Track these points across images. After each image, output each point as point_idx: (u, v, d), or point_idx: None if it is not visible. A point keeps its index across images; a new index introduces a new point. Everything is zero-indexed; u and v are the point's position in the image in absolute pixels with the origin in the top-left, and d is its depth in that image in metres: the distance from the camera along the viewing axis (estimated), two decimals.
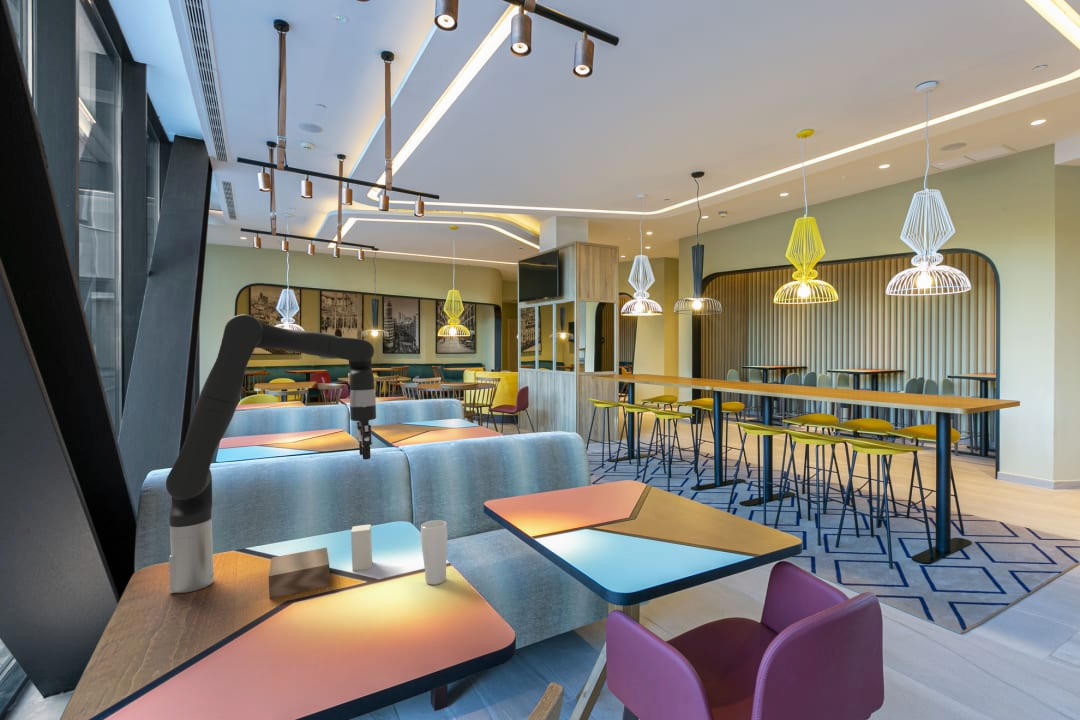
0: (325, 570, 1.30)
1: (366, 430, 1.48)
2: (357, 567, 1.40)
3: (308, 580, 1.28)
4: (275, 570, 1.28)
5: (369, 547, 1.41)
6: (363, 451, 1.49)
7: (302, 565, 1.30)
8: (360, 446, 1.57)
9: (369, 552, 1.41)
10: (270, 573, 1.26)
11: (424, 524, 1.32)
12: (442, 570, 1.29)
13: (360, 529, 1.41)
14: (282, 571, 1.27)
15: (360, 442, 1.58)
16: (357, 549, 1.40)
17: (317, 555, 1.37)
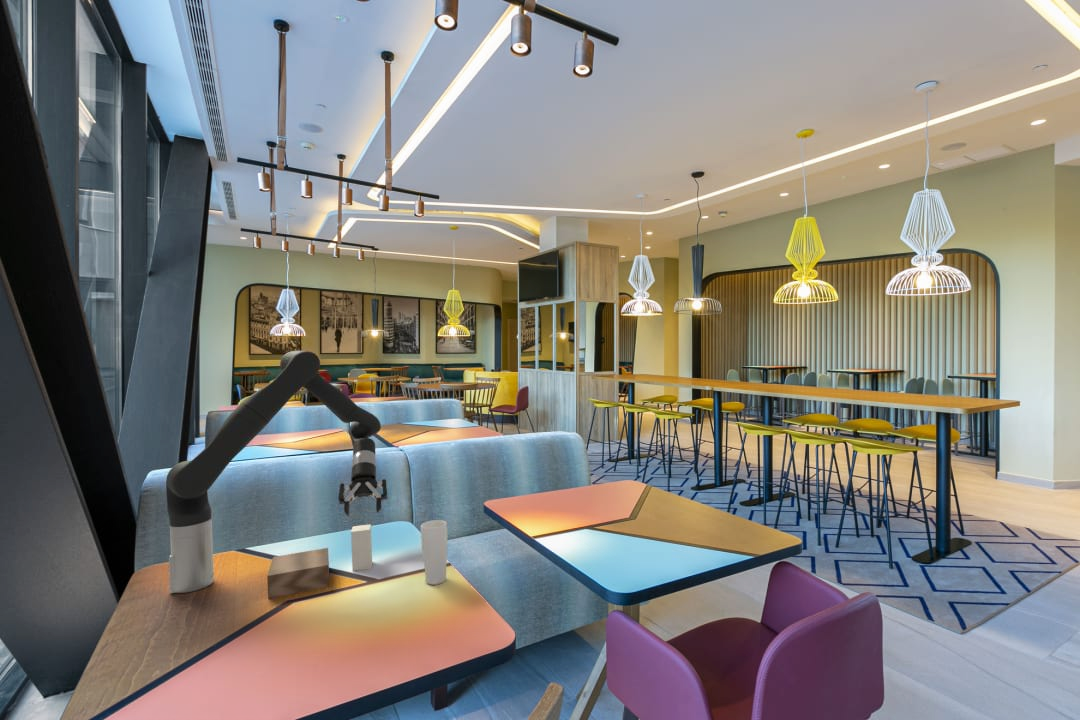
0: (324, 570, 1.30)
1: None
2: (357, 567, 1.40)
3: (307, 580, 1.28)
4: (274, 570, 1.28)
5: (369, 547, 1.41)
6: (379, 502, 1.53)
7: (301, 566, 1.30)
8: (349, 504, 1.51)
9: (369, 552, 1.41)
10: (269, 573, 1.26)
11: (424, 524, 1.32)
12: (442, 570, 1.29)
13: (360, 529, 1.41)
14: (281, 570, 1.27)
15: None
16: (357, 549, 1.40)
17: (318, 555, 1.37)
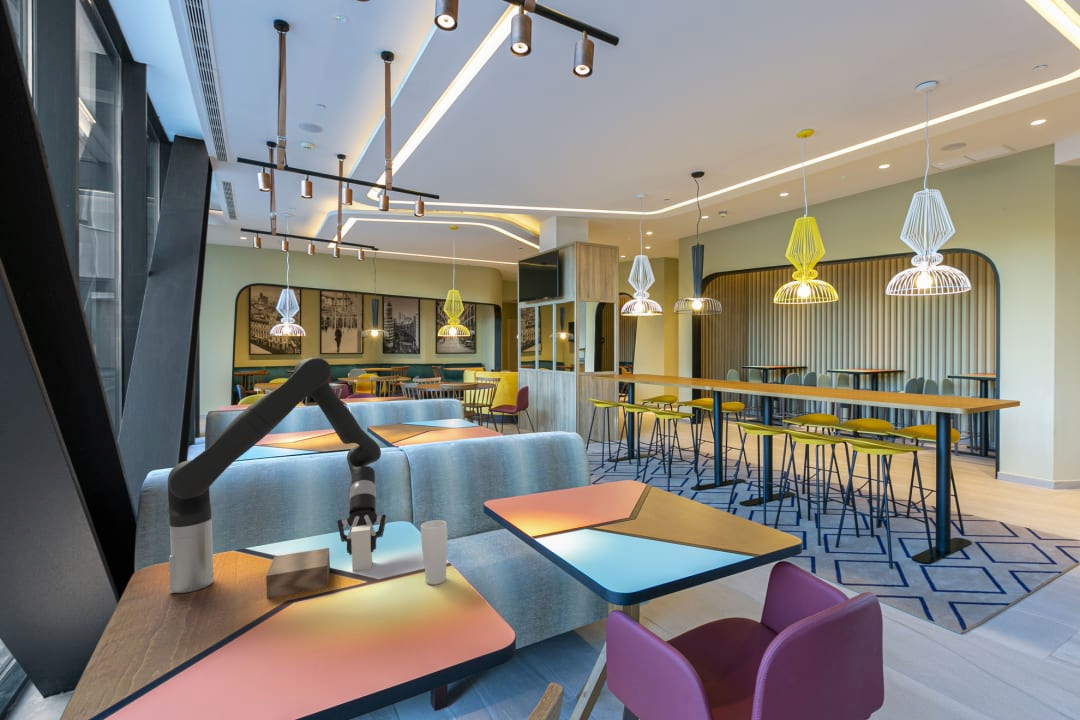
0: (323, 571, 1.29)
1: (385, 521, 1.48)
2: (357, 567, 1.40)
3: (306, 581, 1.28)
4: (273, 570, 1.28)
5: (369, 547, 1.41)
6: (373, 541, 1.43)
7: (300, 566, 1.30)
8: None
9: (369, 552, 1.41)
10: (268, 572, 1.26)
11: (424, 524, 1.32)
12: (442, 570, 1.29)
13: (360, 529, 1.41)
14: (280, 570, 1.27)
15: None
16: (357, 549, 1.40)
17: (318, 555, 1.37)
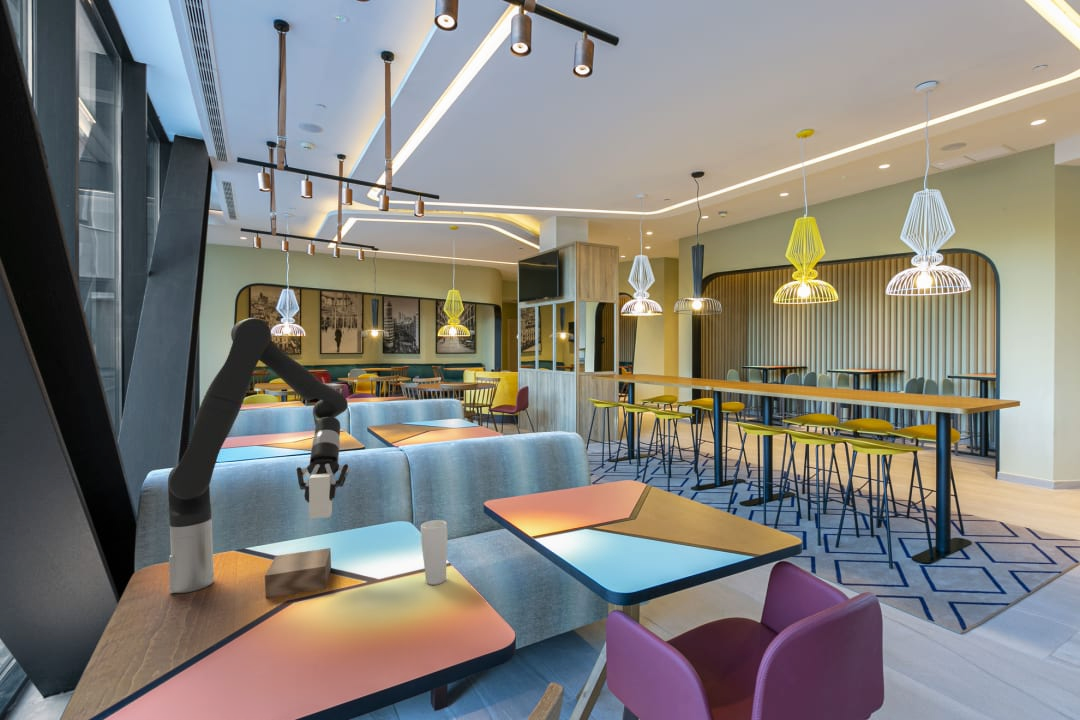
0: (321, 572, 1.29)
1: (347, 471, 1.43)
2: (315, 514, 1.34)
3: (304, 581, 1.28)
4: (273, 569, 1.28)
5: (328, 495, 1.35)
6: (332, 489, 1.37)
7: (299, 566, 1.30)
8: None
9: (328, 500, 1.35)
10: (267, 572, 1.27)
11: (424, 524, 1.32)
12: (442, 570, 1.29)
13: (319, 476, 1.36)
14: (279, 570, 1.28)
15: (308, 486, 1.37)
16: (315, 496, 1.34)
17: (318, 555, 1.37)
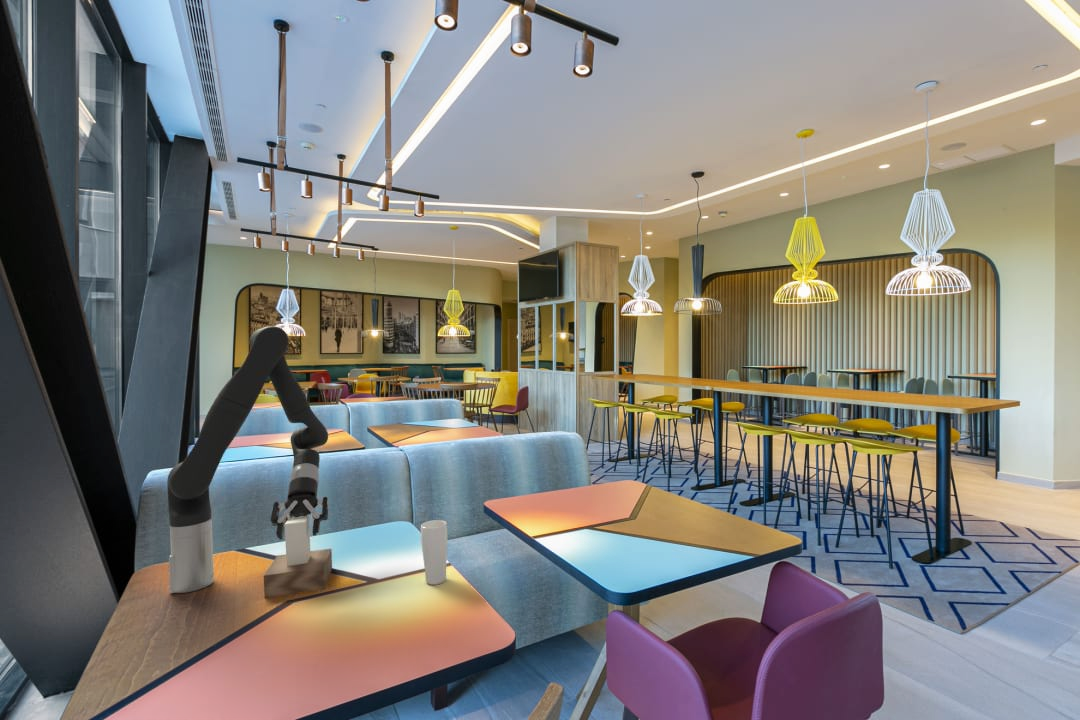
0: (320, 573, 1.28)
1: (327, 503, 1.40)
2: (292, 561, 1.31)
3: (302, 582, 1.27)
4: (272, 569, 1.28)
5: (305, 540, 1.32)
6: (316, 523, 1.35)
7: (298, 566, 1.30)
8: (282, 526, 1.33)
9: (305, 545, 1.32)
10: (266, 572, 1.27)
11: (424, 524, 1.32)
12: (442, 570, 1.29)
13: (295, 521, 1.32)
14: (278, 570, 1.28)
15: None
16: (291, 542, 1.31)
17: (319, 556, 1.37)
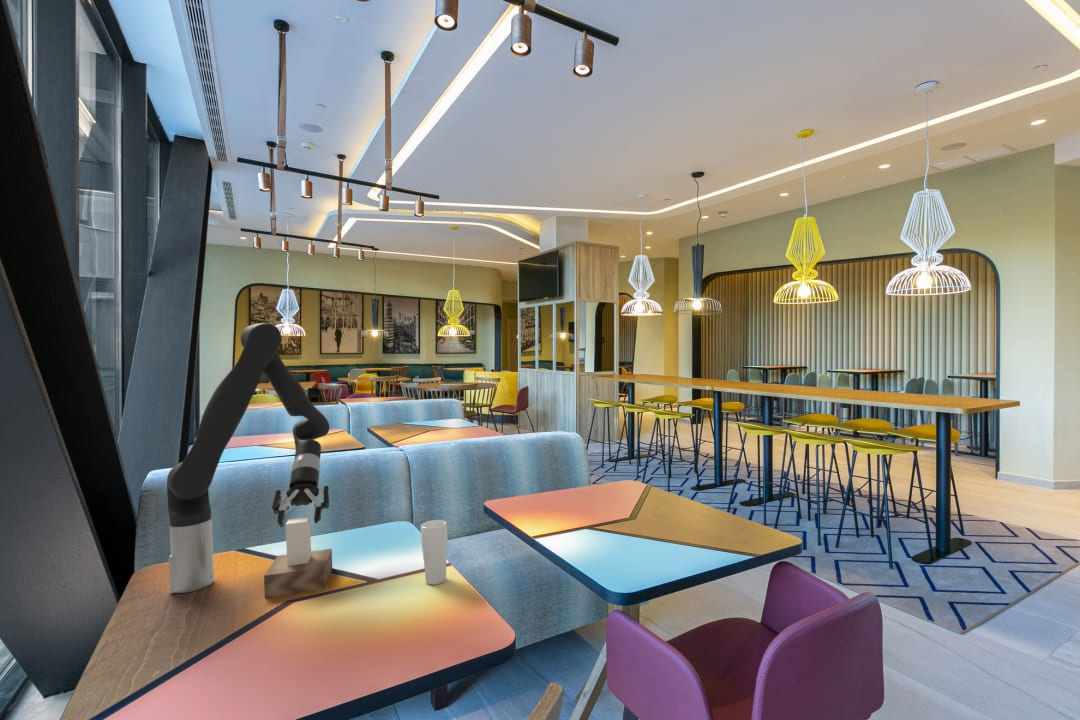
0: (320, 573, 1.28)
1: (328, 492, 1.43)
2: (292, 561, 1.31)
3: (303, 582, 1.27)
4: (272, 569, 1.28)
5: (306, 540, 1.32)
6: (318, 511, 1.37)
7: (299, 566, 1.30)
8: (283, 514, 1.35)
9: (306, 546, 1.32)
10: (267, 572, 1.27)
11: (424, 524, 1.32)
12: (442, 570, 1.29)
13: (296, 521, 1.32)
14: (278, 571, 1.28)
15: None
16: (292, 542, 1.31)
17: (319, 556, 1.37)
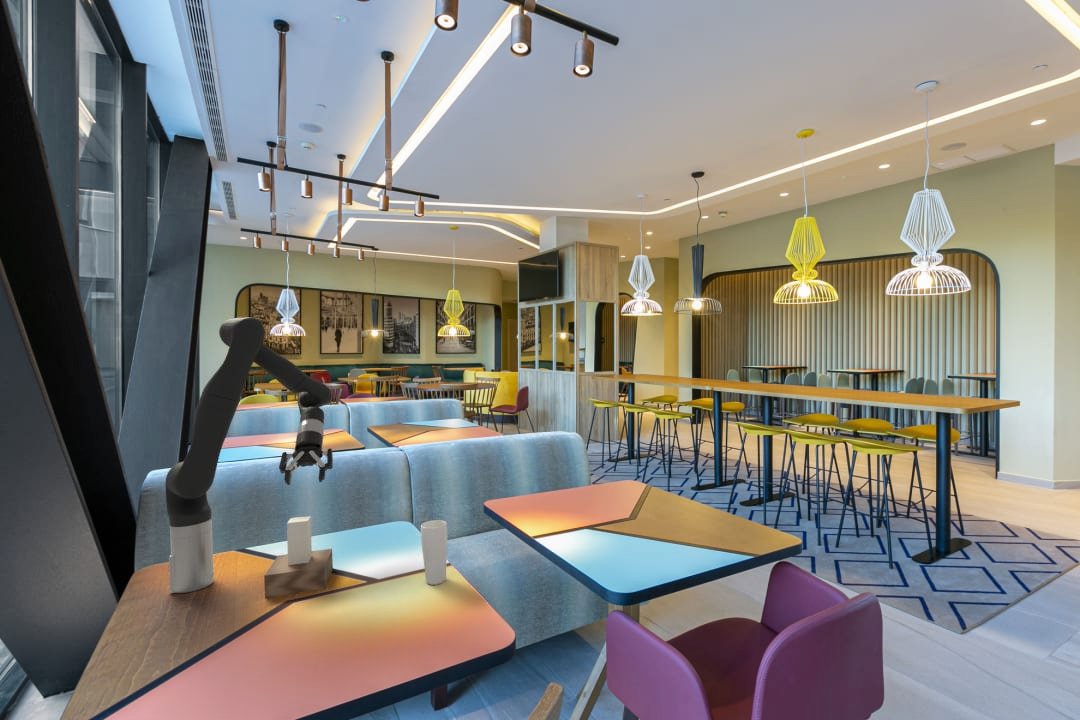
0: (320, 573, 1.28)
1: (332, 454, 1.52)
2: (293, 560, 1.31)
3: (303, 582, 1.27)
4: (273, 569, 1.28)
5: (307, 540, 1.32)
6: (322, 471, 1.46)
7: (299, 566, 1.30)
8: (290, 473, 1.44)
9: (307, 545, 1.32)
10: (267, 572, 1.27)
11: (424, 524, 1.32)
12: (442, 570, 1.29)
13: (298, 520, 1.33)
14: (278, 570, 1.28)
15: (288, 470, 1.45)
16: (293, 541, 1.31)
17: (319, 556, 1.36)
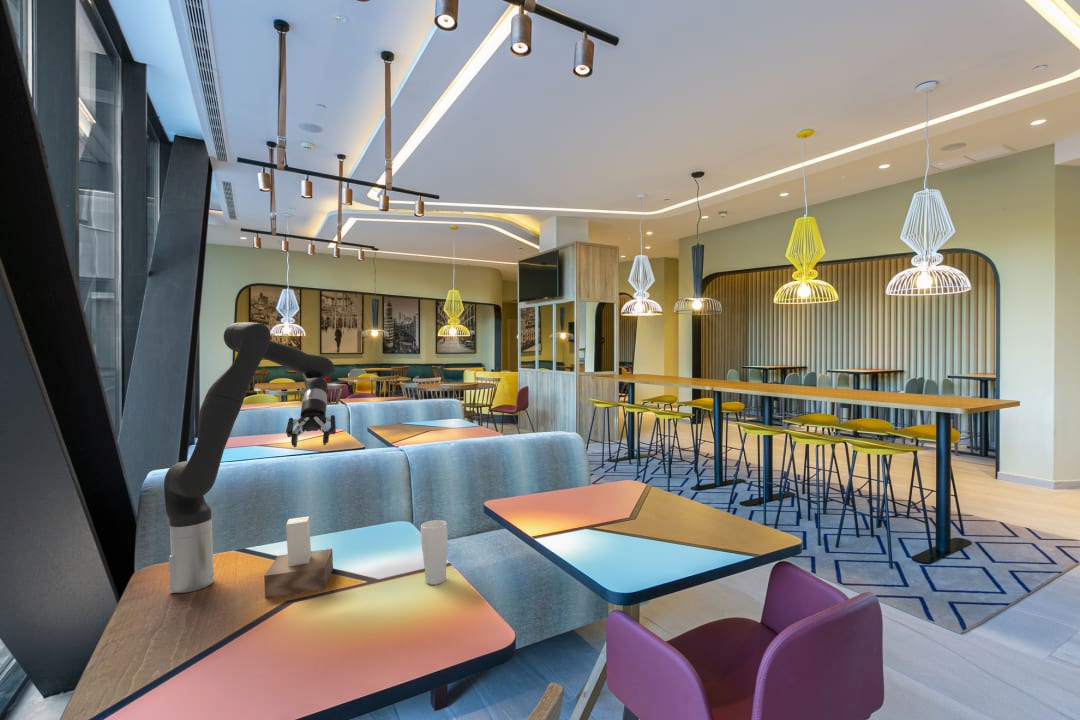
0: (320, 573, 1.28)
1: (335, 420, 1.63)
2: (294, 561, 1.31)
3: (303, 582, 1.27)
4: (273, 570, 1.28)
5: (307, 540, 1.32)
6: (326, 435, 1.57)
7: (299, 567, 1.29)
8: (296, 436, 1.55)
9: (307, 545, 1.32)
10: (267, 572, 1.27)
11: (424, 524, 1.32)
12: (442, 570, 1.29)
13: (297, 521, 1.32)
14: (279, 571, 1.27)
15: None
16: (293, 542, 1.31)
17: (319, 556, 1.36)
